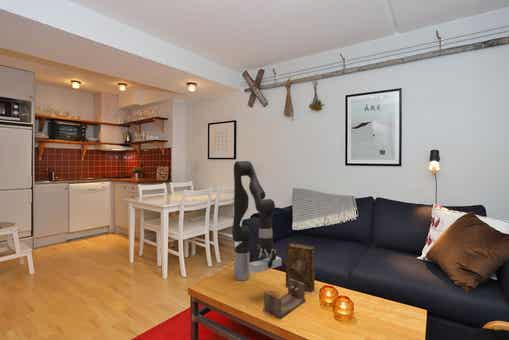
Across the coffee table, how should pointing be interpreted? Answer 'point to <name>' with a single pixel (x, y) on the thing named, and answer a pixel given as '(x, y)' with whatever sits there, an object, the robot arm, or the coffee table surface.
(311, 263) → the book
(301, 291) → the shelf frame
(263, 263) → the grey rectangular bar
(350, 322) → the coffee table surface
